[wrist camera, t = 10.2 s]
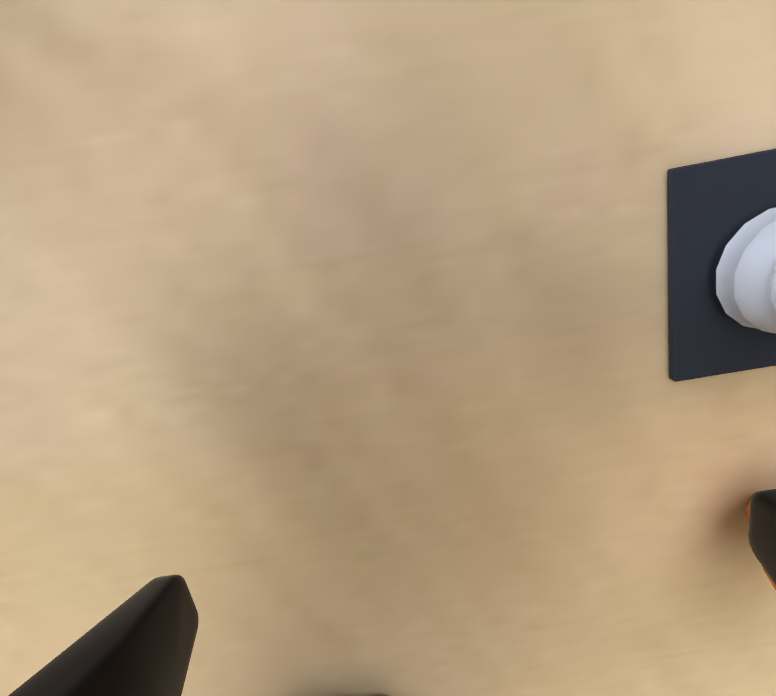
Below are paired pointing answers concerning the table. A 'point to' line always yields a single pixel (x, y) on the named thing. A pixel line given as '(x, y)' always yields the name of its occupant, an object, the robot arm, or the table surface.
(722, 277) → the rook chess piece
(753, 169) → the coaster
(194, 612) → the robot arm
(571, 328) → the table surface
